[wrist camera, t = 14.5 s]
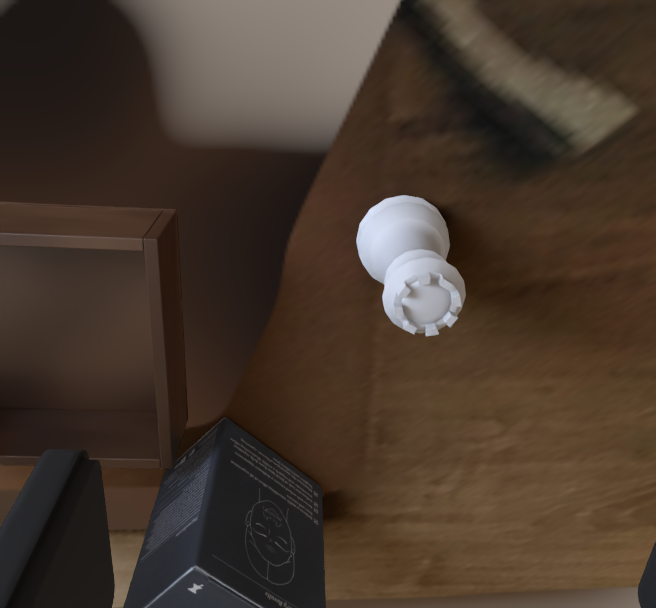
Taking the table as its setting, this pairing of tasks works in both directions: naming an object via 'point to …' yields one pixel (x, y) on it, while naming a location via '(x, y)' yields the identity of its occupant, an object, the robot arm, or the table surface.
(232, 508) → the box
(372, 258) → the rook chess piece
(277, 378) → the table surface
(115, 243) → the tray
